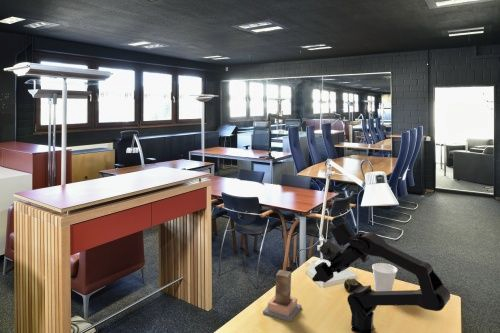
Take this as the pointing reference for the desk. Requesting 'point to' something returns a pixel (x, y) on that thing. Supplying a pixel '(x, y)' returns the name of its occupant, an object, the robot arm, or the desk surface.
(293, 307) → the socket stand
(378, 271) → the cup
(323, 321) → the desk surface
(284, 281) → the walnut pillar
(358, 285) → the tape measure
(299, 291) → the desk surface
